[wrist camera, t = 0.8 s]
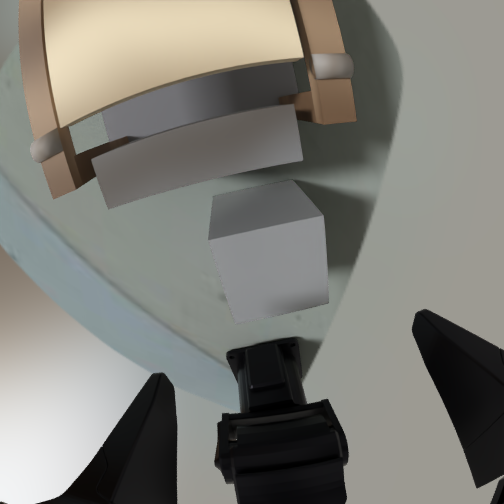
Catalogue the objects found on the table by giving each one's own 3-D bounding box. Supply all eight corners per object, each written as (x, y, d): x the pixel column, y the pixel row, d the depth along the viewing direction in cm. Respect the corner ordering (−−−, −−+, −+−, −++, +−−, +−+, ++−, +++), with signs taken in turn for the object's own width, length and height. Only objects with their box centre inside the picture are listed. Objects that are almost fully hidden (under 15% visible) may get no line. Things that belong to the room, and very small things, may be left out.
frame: (300, 114, 15) (362, 122, 8) (118, 159, 15) (47, 203, 8) (259, -47, 9) (283, -118, 2) (86, 1, 9) (17, -36, 2)
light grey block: (301, 248, 19) (329, 303, 14) (231, 263, 19) (235, 324, 14) (292, 179, 17) (323, 215, 12) (213, 196, 17) (208, 240, 12)
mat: (300, 114, 15) (302, 114, 14) (118, 159, 15) (115, 160, 14) (259, -47, 9) (260, -51, 8) (86, 1, 9) (82, -1, 8)
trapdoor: (285, 142, 13) (322, 163, 8) (135, 179, 13) (91, 220, 8) (236, -60, 7) (243, -116, 2) (94, -19, 7) (47, -54, 2)
